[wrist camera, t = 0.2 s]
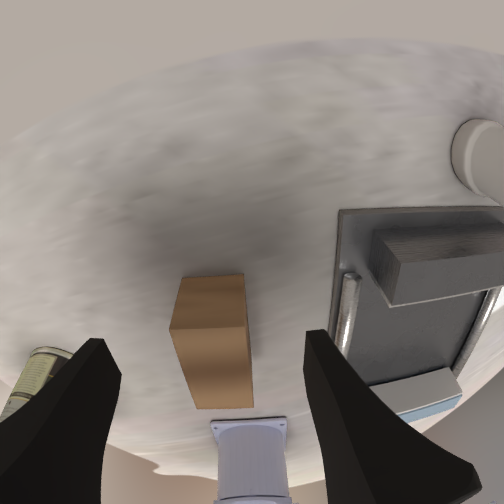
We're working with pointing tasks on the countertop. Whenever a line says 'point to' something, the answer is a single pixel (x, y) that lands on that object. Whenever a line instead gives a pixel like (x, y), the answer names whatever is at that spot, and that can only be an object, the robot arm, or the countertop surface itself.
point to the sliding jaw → (420, 394)
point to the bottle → (480, 158)
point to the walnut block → (214, 341)
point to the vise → (414, 287)
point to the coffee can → (35, 377)
